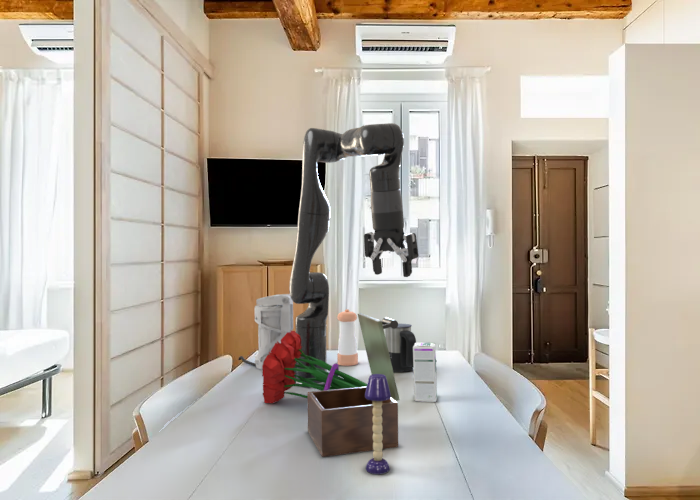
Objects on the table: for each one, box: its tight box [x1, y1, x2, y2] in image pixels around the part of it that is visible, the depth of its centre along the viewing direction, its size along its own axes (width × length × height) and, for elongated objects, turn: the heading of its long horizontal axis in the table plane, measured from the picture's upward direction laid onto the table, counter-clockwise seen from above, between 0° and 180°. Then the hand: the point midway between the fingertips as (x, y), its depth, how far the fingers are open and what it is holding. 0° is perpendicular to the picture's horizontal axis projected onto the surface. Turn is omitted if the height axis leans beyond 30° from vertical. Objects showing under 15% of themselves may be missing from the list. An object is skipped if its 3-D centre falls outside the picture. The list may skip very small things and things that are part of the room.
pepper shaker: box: [336, 308, 359, 367], centre depth 173 cm, size 7×7×19 cm
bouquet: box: [261, 330, 368, 404], centre depth 125 cm, size 20×16×30 cm
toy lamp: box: [365, 374, 392, 475], centre depth 87 cm, size 5×5×17 cm
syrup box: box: [412, 341, 438, 403], centre depth 129 cm, size 6×6×14 cm
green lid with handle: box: [357, 312, 400, 402], centre depth 104 cm, size 16×14×6 cm
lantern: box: [254, 293, 294, 370], centre depth 169 cm, size 13×10×25 cm
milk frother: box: [384, 323, 437, 373], centre depth 163 cm, size 14×16×15 cm
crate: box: [306, 386, 399, 458], centre depth 101 cm, size 16×14×9 cm
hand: (392, 275), depth 119 cm, fingers open, 8 cm apart
